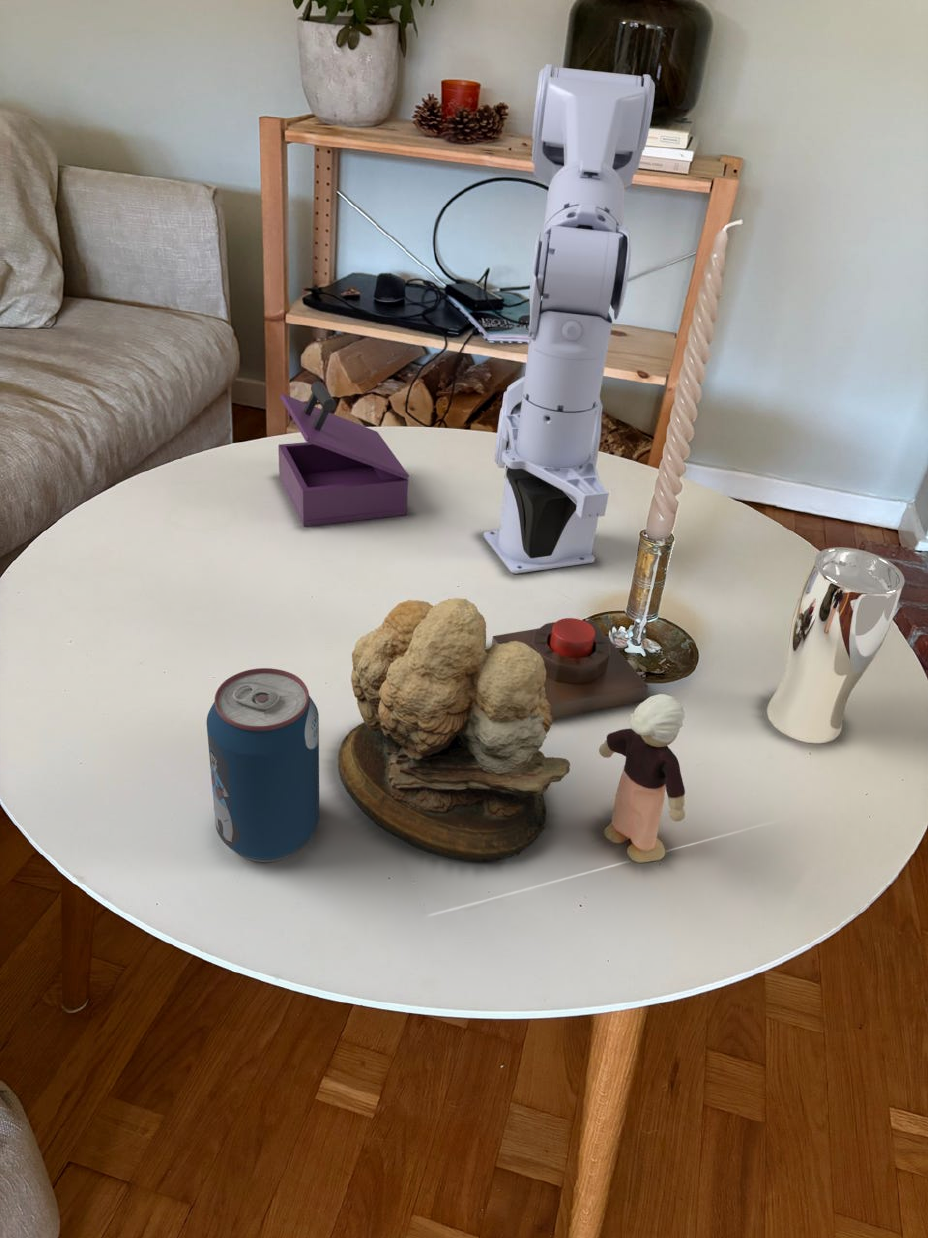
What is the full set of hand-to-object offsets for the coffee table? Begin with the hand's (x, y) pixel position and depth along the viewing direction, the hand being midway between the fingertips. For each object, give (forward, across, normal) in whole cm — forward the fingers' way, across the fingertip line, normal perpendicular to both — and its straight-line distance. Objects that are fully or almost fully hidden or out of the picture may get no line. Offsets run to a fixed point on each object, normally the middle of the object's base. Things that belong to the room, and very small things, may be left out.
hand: (537, 552), depth 79 cm
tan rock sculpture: (+10, +14, -13) cm, 22 cm away
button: (+7, +4, +2) cm, 9 cm away
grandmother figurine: (+10, +22, -2) cm, 25 cm away
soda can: (+10, +14, -26) cm, 31 cm away
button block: (+10, +4, +2) cm, 11 cm away
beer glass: (+10, +15, +19) cm, 27 cm away
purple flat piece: (+3, -32, -7) cm, 33 cm away
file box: (+10, -32, -8) cm, 34 cm away
